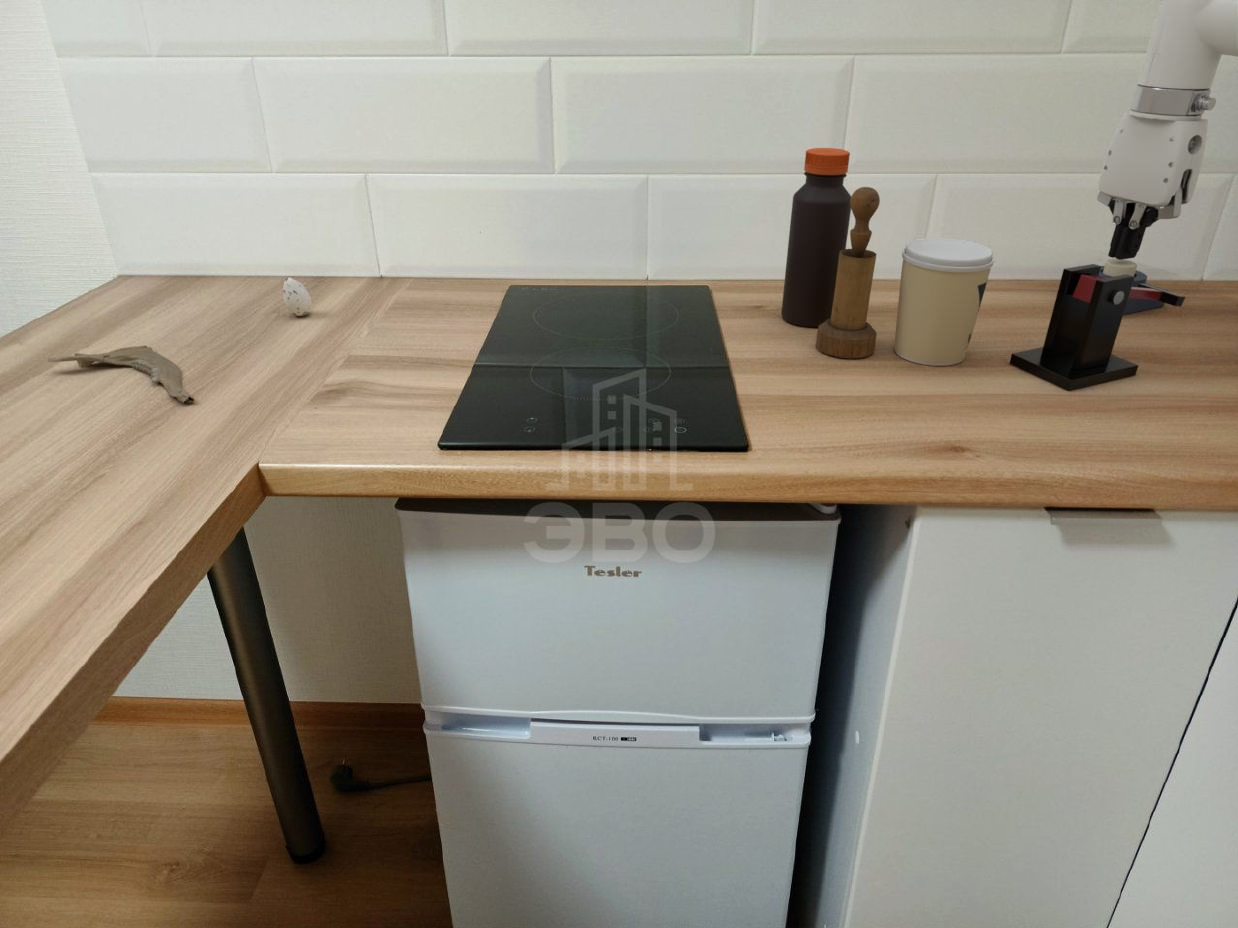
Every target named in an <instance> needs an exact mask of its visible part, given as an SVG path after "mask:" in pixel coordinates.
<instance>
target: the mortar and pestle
mask: <svg viewBox="0 0 1238 928" xmlns="http://www.w3.org/2000/svg"><path fill="white" fill-rule="evenodd" d="M880 200H881V198H880V194H879V193H878V191H877V190H876V189H875V188H873V187H870V186H862V187H858V188H857V189H855V191H854V192H853V193H852V195H851V200H850V206H851V212H852V215H853V217H854V219H855V223H854V226H853V228H851V229H850V230H849V237H850V245H851V248H846V249H844V250H841V251H840V253H839V261H838V270H837V278H836V286H835V293H834V300H833V307H832V314H831V318H830V319H828V320H826V321H825V322H824V323H822V324H820V325H819V327H817V331H816V338H815V347H816V349H817V350H818V351H819V352H821V353H823V354H825V355H828V356H833V357H836V358H841V359H863V358H867V357H870V356H871V355H873V354H874V352H875V349H876V342H877V341H876V340H877V331H876V329H875V328H873V327H872V325H871V324H870V323H869V322H867V320H868V313H869V305H870V298H871V292H872V285H873V279H874V272H875V267H876V261H877V253H876V252H875V251H872V250H869V249H867V248H868V245H869V243H870V240H871V237H872V235H873V231H872V230H871V229H870V221H871V219H872V217H873V216H874V215H875V213H876V211H877V210H878V208H879V206H880V202H881V201H880Z"/></svg>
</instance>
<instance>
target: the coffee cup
mask: <svg viewBox="0 0 1238 928" xmlns="http://www.w3.org/2000/svg"><path fill="white" fill-rule="evenodd" d="M993 255H994V253H993V251H992V249H991V248H989V247H988V246H985V245H983V244H981V243H977V242H974V241H969V240H964V239H958V238H949V237H926V238H918V239H914V240H911V241H909V242H908V243H906V246H905V248H903V250H902V253H901V257H902V265H901V272H900V274H901V275H900V281H899V292H898V303H897V313H896V324H895V333H894V352H895V354H896V355H897V356H898V357H900V358H902V359H904V360H906V361H909V362H912V363H915V364H918V365H919V364H920V365H924V366H931V367H932V366H934V367H945V366H946V367H947V366H954V365H957V364H959V363H961V362H963V361H964V359H965V358H966V354H967V351H968V349H969V345H970V342H971V340H972V339H971V338H972V335H973V333H974V329H975V325H976V322H977V319H978V315H979V312H980V309H981V304H982V301H983V297H984V294H985V291H986V288H987V283H988V279H989V276H990V272H991V268H993V266H994V263H995V257H994V256H993Z"/></svg>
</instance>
